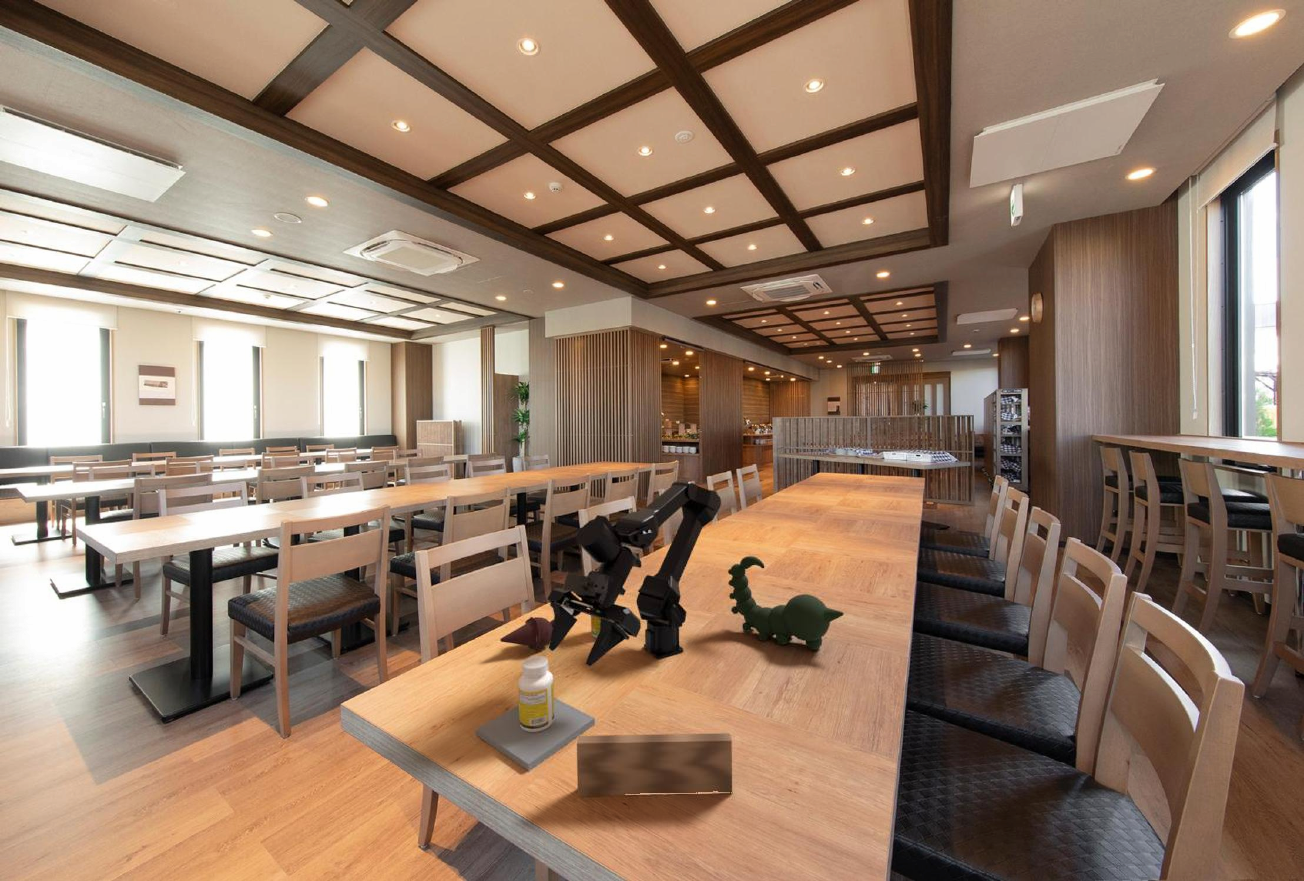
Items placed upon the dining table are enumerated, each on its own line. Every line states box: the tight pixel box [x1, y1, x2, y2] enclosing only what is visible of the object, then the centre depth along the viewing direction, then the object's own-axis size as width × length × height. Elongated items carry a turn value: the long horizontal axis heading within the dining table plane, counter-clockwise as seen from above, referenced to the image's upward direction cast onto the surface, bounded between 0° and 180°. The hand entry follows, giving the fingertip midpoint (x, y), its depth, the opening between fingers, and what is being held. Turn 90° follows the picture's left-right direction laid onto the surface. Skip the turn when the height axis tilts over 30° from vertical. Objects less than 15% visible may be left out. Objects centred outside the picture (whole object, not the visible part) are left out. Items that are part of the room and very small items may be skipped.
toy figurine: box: [727, 555, 845, 651], centre depth 105 cm, size 9×19×25 cm
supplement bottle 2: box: [590, 611, 601, 638], centre depth 110 cm, size 5×5×10 cm
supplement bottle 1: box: [517, 655, 555, 732], centre depth 75 cm, size 5×5×10 cm
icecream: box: [499, 616, 554, 652], centre depth 103 cm, size 7×7×15 cm
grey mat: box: [475, 697, 596, 772], centre depth 75 cm, size 13×13×1 cm
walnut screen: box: [576, 732, 733, 798], centre depth 62 cm, size 20×2×7 cm, turn 90°
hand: (568, 657), depth 80 cm, fingers open, 9 cm apart
